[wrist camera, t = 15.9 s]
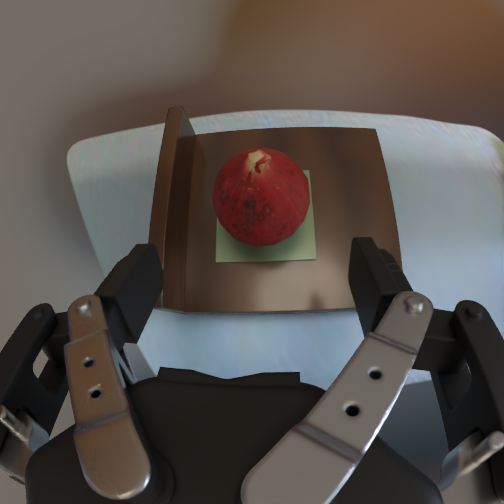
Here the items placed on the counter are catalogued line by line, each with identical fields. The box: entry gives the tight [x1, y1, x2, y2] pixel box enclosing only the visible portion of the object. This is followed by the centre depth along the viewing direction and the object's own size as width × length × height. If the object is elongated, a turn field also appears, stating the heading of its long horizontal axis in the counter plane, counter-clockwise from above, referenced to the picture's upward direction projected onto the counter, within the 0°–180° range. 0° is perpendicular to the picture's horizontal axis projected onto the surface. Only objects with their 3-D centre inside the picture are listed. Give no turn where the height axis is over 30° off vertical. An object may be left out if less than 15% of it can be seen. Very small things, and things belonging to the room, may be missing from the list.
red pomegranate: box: [212, 148, 310, 247], centre depth 17 cm, size 6×6×8 cm
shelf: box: [148, 106, 403, 314], centre depth 21 cm, size 17×15×7 cm
